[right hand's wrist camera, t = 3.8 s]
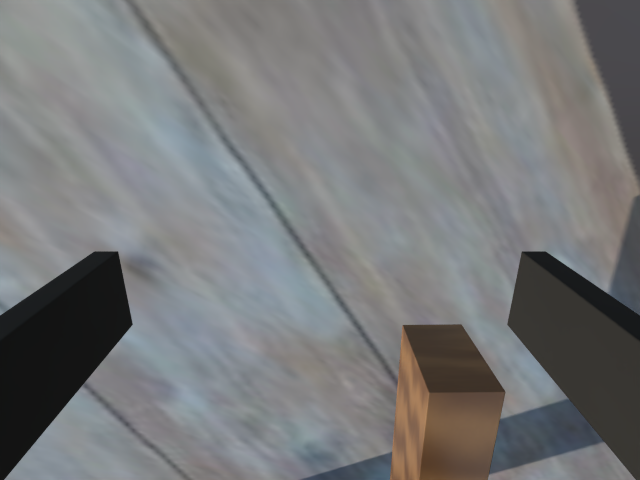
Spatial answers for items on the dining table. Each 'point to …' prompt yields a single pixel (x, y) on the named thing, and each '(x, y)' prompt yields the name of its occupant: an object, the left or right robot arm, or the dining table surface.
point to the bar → (444, 407)
